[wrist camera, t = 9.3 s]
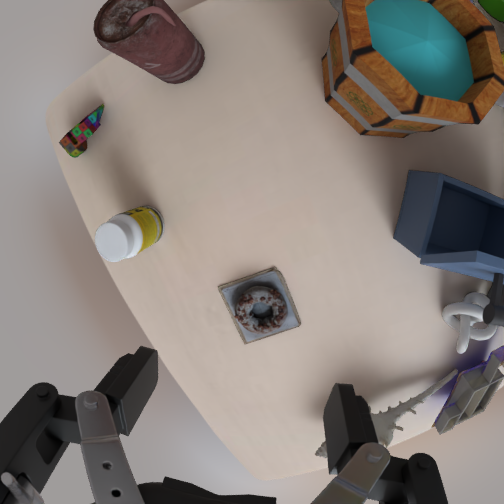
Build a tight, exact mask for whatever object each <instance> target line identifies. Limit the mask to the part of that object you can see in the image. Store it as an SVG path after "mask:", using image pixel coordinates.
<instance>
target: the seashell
mask: <svg viewBox="0 0 504 504" xmlns="http://www.w3.org/2000/svg"><path fill="white" fill-rule="evenodd" d="M457 373H458V371H457V369H455V370H454V371H452V372H451V373H450V374H449V375H448V376H446V377H445V378H443V379H442V380H441V381H439V382H437V383H436V384H434V385H433V386H432V387H430V388H429V389H427V390H426V391H424V392H423V393H421V394H419V395H418V396H416V397H414V398H410V399H409V400H408V401H407V402H404V403H401V401H399V405H398V406H397V407H395V408H391V407H390V406H389V407H388V411H386V412H383V413H382V412H381V411H380V412H379V414H373V413H370V414H371V417H372V421H373V424H374V428H375V431H376V435H377V439H378V442H379V444H381V445H383V446H384V444H385V445H386V448H387V446H388V444H390V442H391V441H392V438H393V431H394V429H398V430H402V431H403V428H402V427H400V426H396V424H395V423H396V422H397V421H398V420H399V419H400V417H401V416H402V415H403V414H405V413H406V412H409V411H411V412H413V413H414V414H416V411H414V410H413V408H415V407H416V406H417V405H418V404H420V403H424V402H423V401H424V400H426V399H427V398H428V397H430V396H431V395H432V394H433V393H434V392H436V391H437V390H439V389H441V387H442V386H443V385H445V384H446V383H448V382H449V381H450V380H451V379H453V378H454V377H455V375H456V374H457ZM369 410H370V412H371V408H370V406H369ZM315 455H316V456H319V457H321V456H322V457H324V458H327V448H326V441H325V442H323V443H322V445H321V447H319V448H318V450H317V451H316V453H315Z"/></svg>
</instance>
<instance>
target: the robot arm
mask: <svg viewBox="0 0 504 504" xmlns="http://www.w3.org/2000/svg"><path fill="white" fill-rule="evenodd" d="M157 381H158V352H157V350H154V349H151V348H147V347H143V346H140V347H139V349H138V350H137V351H136V353H135V354H134V355H133V354H129V353H128V354H126V355H124V356H122V357H121V358H119V360H118V361H117V362H116V363H115V364H114V366H113V367H112V368H111V369H110V372H108V373H107V374H106V376H105V377H104V378H103V379H102V381H101V382H100V383H99V384H98V385H97V387H96V388H95V389H94V391H86V392H82V393H81V394H79V395H78V396H77V397H71V396H65V395H59V394H58V391H57V389H56V387H55V386H53V385H52V384H49V383H38V384H35V385H33V386H32V387H31V388H30V389H29V390H28V391H27V392H26V394H25V395H24V396H23V397H22V398H21V399H20V401H19V402H18V403H17V404H16V405H15V406H14V407H13V408H12V410H11V411H10V412H9V413H8V414H7V416H6V417H5V418H4V419H3V421H2V422H1V423H0V504H44V501H43V499H42V497H41V496H40V493H41V491H42V490H43V488H44V486H45V484H46V483H47V481H48V479H49V477H50V475H51V473H52V472H53V470H54V469H55V467H56V465H57V463H58V462H59V460H60V458H61V457H62V455H63V453H64V452H65V450H66V448H67V447H68V445H69V443H70V442H71V443H77V444H80V445H81V450H82V454H83V458H84V462H85V467H86V471H87V475H88V479H89V482H90V486H91V489H92V493H93V496H94V499H95V502H94V503H92V504H276V498H275V497H265V496H257V495H249V494H248V495H217V494H214V493H212V492H209V491H207V490H205V489H203V488H200V487H198V486H196V485H194V484H191V483H188V482H184V481H180V480H176V479H172V478H169V477H165V478H164V480H163V483H161V482H150V483H143V484H139V485H137V484H136V482H135V479H134V477H133V474H132V472H131V469H130V466H129V464H128V461H127V458H126V456H125V453H124V450H123V447H122V444H121V441H120V438H119V435H120V433H121V434H124V435H126V436H129V434H130V432H131V430H132V429H133V427H134V425H135V423H136V421H137V419H138V418H139V416H140V414H141V412H142V410H143V408H144V407H145V405H146V403H147V402H148V400H149V398H150V396H151V395H152V392H153V391H154V389H155V387H156V384H157ZM323 421H324V429H325V438H326V448H327V458H328V468H329V474H338V476H337V477H335V478H334V479H333V480H332V481H331V482H330V483H329V484H328V485H327V487H326V488H325V489H324V490H323V491H322V492H321V493H320V494H319V496H317V497H316V498H315V500H314V501H313V502H312V503H311V504H364V503H365V501H366V500H367V499H372V500H377V501H379V504H448V501H447V497H446V494H445V490H444V487H443V483H442V480H441V477H440V473H439V470H438V467H437V464H436V461H435V460H434V459H433V458H432V457H431V456H430V455H427V454H425V453H416V454H414V455H412V456H411V457H410V458H409V460H407V459H402V458H397V457H393V456H391V455H390V453H389V451H388V450H387V449H386V448H385V447H384V446H383V445H381V444H379V442H378V439H377V435H376V431H375V428H374V424H373V421H372V417H371V414H370V410H369V407H368V404H367V402H366V401H365V400H364V399H363V398H362V396H355V392H354V388H353V385H352V384H340V383H336V384H335V385H334V387H333V389H332V392H331V394H330V397H329V399H328V401H327V404H326V406H325V409H324V415H323Z"/></svg>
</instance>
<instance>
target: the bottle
mask: <svg viewBox="0 0 504 504" xmlns="http://www.w3.org/2000/svg"><path fill="white" fill-rule="evenodd" d="M491 291H492V288H491V289H490V291H489V293H488V296H487V297H488V298H489V299H490V297H491ZM499 305H501V306H504V284H503V287H502V293H501V299H500V304H499ZM503 327H504V326H503Z"/></svg>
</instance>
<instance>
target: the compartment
mask: <svg viewBox="0 0 504 504" xmlns="http://www.w3.org/2000/svg"><path fill="white" fill-rule="evenodd" d="M393 238H394V239H395V240H397V241H398V242H399V243H401V244H402V245H403V246H404V247H406V248H407V249H408V250H410V251H411V252H412V253H413V254H415V255H416V256H417V257H419V258H421V255H429V254H441V253H453V252H465V251H476V250H478V251H481V252H484V253H487V254H490V255H493V256H496V257H499V258H502V259H504V200H503V199H501V198H499V197H497V196H495V195H492V194H490V193H488V192H486V191H483V190H481V189H479V188H476V187H474V186H472V185H469V184H467V183H464V182H462V181H459V180H457V179H454V178H452V177H449V176H447V175H444V174H441V173H435V172H425V171H413V170H409V173H408V178H407V183H406V188H405V192H404V197H403V201H402V206H401V210H400V214H399V218H398V222H397V226H396V230H395V233H394V237H393Z"/></svg>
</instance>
